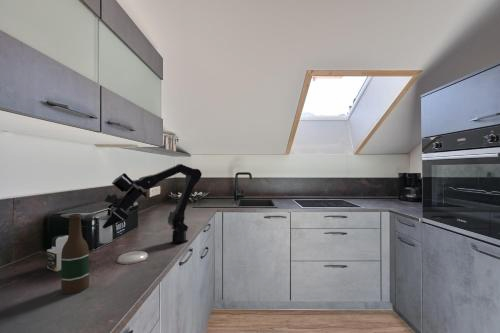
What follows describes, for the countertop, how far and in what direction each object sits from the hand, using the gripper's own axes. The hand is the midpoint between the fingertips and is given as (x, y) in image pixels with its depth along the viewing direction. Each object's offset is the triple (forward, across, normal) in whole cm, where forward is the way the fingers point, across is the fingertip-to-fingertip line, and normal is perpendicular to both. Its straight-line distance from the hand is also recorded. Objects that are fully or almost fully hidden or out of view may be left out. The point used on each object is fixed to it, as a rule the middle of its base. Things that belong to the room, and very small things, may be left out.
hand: (102, 226), depth 107 cm
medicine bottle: (+19, 0, 0) cm, 19 cm away
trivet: (+2, +9, +17) cm, 19 cm away
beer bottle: (+17, +26, +2) cm, 31 cm away
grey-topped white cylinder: (+4, 0, +6) cm, 7 cm away
